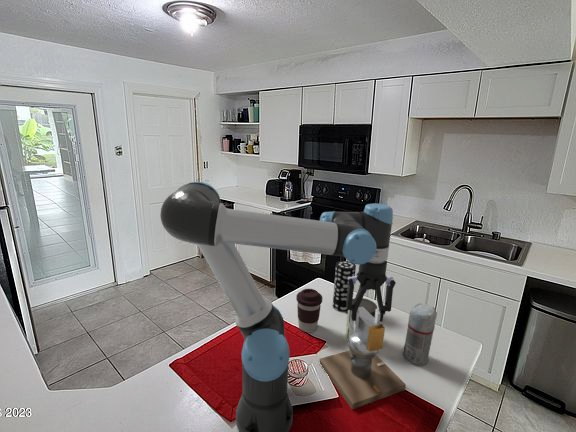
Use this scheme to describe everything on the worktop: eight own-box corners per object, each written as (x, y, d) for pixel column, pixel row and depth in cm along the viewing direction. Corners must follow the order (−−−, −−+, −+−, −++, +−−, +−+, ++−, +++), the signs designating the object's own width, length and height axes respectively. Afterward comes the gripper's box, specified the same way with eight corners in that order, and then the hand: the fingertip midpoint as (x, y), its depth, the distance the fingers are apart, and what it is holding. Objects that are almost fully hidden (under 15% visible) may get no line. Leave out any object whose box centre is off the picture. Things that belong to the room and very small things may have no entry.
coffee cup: (313, 338, 118) (316, 302, 114) (290, 329, 122) (291, 294, 118) (324, 324, 126) (326, 290, 122) (302, 316, 131) (304, 284, 127)
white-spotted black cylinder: (328, 305, 140) (332, 264, 134) (340, 299, 145) (344, 259, 140) (343, 314, 134) (347, 270, 128) (355, 307, 139) (359, 265, 134)
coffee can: (372, 332, 122) (376, 299, 119) (373, 349, 113) (378, 314, 109) (345, 328, 124) (348, 296, 121) (344, 344, 115) (348, 310, 111)
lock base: (352, 409, 88) (355, 379, 85) (319, 363, 105) (321, 337, 102) (404, 389, 95) (409, 362, 93) (366, 350, 112) (369, 325, 110)
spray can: (433, 366, 105) (443, 314, 100) (409, 367, 105) (417, 314, 99) (421, 349, 113) (429, 300, 108) (398, 350, 113) (406, 300, 107)
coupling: (341, 340, 101) (344, 309, 98) (366, 335, 104) (369, 305, 101) (361, 365, 90) (364, 331, 87) (387, 358, 93) (392, 326, 90)
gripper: (342, 262, 86) (336, 336, 92) (410, 265, 86) (400, 339, 92) (339, 252, 93) (333, 321, 99) (402, 254, 93) (392, 323, 99)
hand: (365, 329), depth 96 cm, fingers closed on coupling, 5 cm apart
